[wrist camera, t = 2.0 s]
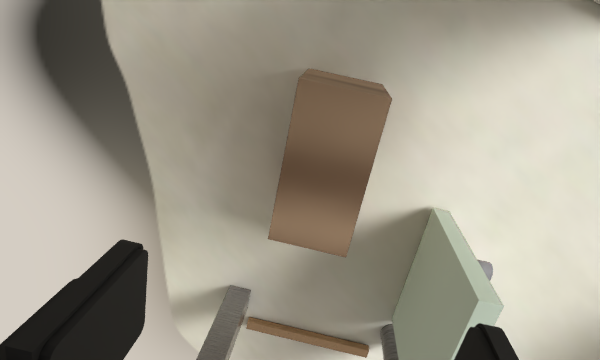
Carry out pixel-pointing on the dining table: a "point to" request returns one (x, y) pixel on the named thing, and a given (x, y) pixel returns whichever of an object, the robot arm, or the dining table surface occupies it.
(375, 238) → the dining table surface
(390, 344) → the door frame
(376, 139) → the block
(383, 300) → the dining table surface
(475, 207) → the dining table surface
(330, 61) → the dining table surface
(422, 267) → the door
